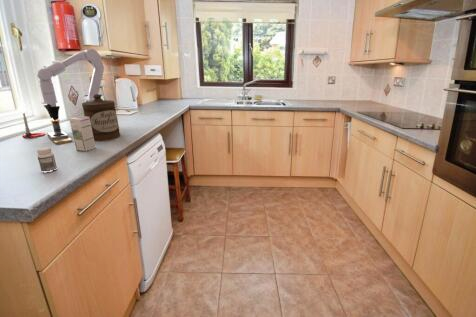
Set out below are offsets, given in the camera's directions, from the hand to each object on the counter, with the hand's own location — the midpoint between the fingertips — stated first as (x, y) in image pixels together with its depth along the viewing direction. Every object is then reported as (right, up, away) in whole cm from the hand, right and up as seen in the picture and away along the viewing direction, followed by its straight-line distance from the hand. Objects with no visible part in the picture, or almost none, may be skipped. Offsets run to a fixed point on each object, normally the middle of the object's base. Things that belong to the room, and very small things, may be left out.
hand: (54, 118), depth 149 cm
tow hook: (-10, -10, -1) cm, 14 cm away
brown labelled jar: (+30, -11, -6) cm, 33 cm away
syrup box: (+31, -18, -26) cm, 44 cm away
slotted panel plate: (+8, -12, -8) cm, 16 cm away
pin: (0, -8, +3) cm, 9 cm away
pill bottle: (+31, -26, -50) cm, 64 cm away
